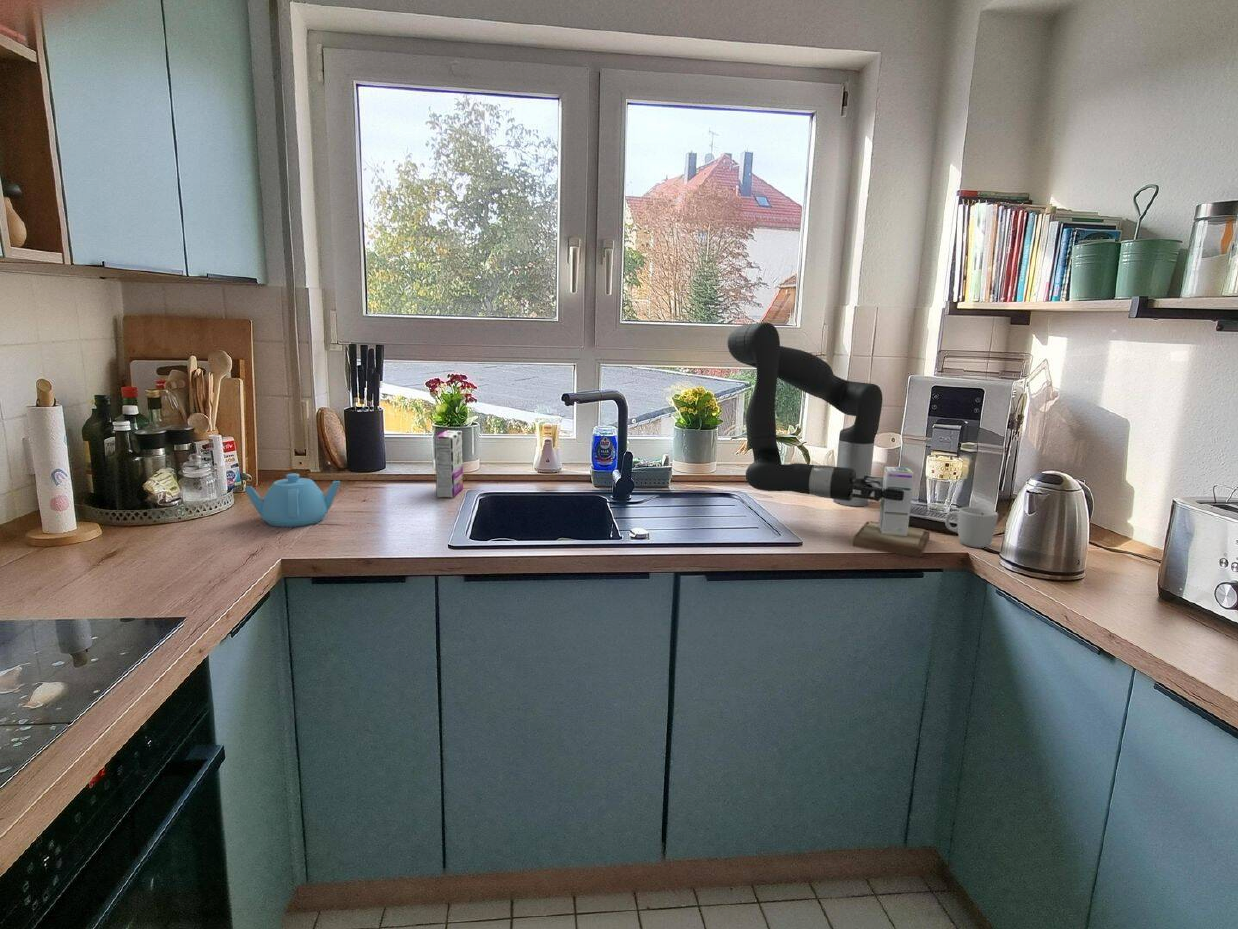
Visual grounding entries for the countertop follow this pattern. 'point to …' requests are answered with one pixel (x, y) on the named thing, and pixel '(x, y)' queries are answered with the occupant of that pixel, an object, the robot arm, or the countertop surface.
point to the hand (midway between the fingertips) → (906, 492)
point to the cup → (974, 526)
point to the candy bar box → (448, 464)
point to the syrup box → (896, 502)
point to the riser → (892, 540)
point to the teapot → (293, 501)
